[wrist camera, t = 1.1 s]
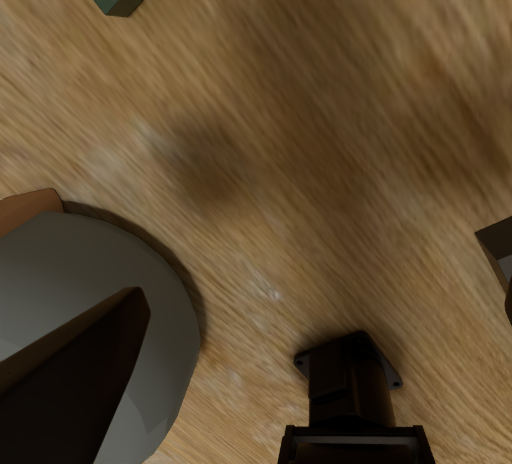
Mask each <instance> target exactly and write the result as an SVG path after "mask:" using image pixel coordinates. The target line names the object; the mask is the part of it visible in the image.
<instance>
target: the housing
mask: <svg viewBox="0 0 512 464" xmlns="http://www.w3.org/2000/svg"><path fill="white" fill-rule="evenodd" d="M94 1H95V3H96V4H97V5H98V7H99V8H100V9H101V10H102V12H103V13H104V14H105V15H109V16H118V17H128V16H129V15H130V14H131V13H132V11H133V10H134V9H135V8H136V7H137V6H138V5H139V4H140V3H141V2H142V0H94Z"/></svg>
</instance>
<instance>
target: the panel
mask: <svg viewBox="0 0 512 464" xmlns="http://www.w3.org/2000/svg"><path fill="white" fill-rule="evenodd" d="M475 236H476V237H477V239H478V241H479V243H480V245H481V247H482V249H483V251H484V253H485V255H486V257H487V259H488V260H489V262H490V264H491V266H492V268H493V270H494V272H495V274H496V276H497V278H498V280H499V281H500V283H501V285H502V287H503V289H504V291H505V293H506V294H507V290H508V285H509V281H510V278H511V276H512V217H510V218H508V219H506V220H503V221H501V222H499V223H497V224H494V225H492V226H490V227H488V228H485V229H483V230H481V231H478V232H476V233H475Z"/></svg>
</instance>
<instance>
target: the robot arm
mask: <svg viewBox="0 0 512 464" xmlns="http://www.w3.org/2000/svg"><path fill="white" fill-rule="evenodd" d="M505 311H506V314H507V316H508V318H509V321H510V323H511V325H512V276H511V278H510V281H509V285H508V290H507V294H506V298H505ZM150 318H151V310H150V307H149V304H148V301H147V299H146V296H145V293H144V291H143V289H142V288H141V287H139V286H134V287H125V288H123V289H121V290H120V291H118V292H116V293H115V294H113V295H111V296H110V297H108V298H106V299H105V300H103V301H101V302H100V303H98V304H96V305H95V306H93V307H91V308H90V309H88V310H86V311H85V312H83V313H81V314H80V315H78V316H76V317H74V318H73V319H71V320H69V321H68V322H66V323H64V324H63V325H61V326H59V327H58V328H56V329H54V330H53V331H51V332H49V333H48V334H46V335H44V336H43V337H41V338H39V339H38V340H36V341H34V342H33V343H31V344H29V345H28V346H26V347H24V348H23V349H21V350H19V351H18V352H16V353H14V354H13V355H11V356H9V357H7V358H6V359H4V360H2V361H1V362H0V464H94V462H95V459H96V457H97V455H98V452H99V450H100V448H101V445H102V443H103V441H104V438H105V436H106V434H107V431H108V429H109V427H110V425H111V422H112V420H113V418H114V415H115V413H116V411H117V408H118V406H119V404H120V401H121V399H122V397H123V394H124V392H125V390H126V387H127V385H128V383H129V380H130V378H131V376H132V373H133V371H134V368H135V365H136V362H137V360H138V356H139V353H140V350H141V347H142V344H143V341H144V337H145V334H146V331H147V328H148V325H149V322H150ZM360 337H364V338H360ZM299 360H300V361H299ZM294 365H295V366H296V367H297V368H298V369H299V370H300V371H301V372H302V373H303V375H304V376H305V377H306V378H307V379H308V398H309V427H303V426H294V425H286V429H285V435H284V436H283V437H282V442H281V447H280V453H279V458H278V463H277V464H436V463H435V460H434V457H433V454H432V452H431V449H430V446H429V443H428V440H427V437H426V435H425V432H424V429H423V426H422V425H413V427H397V426H396V421H395V416H394V412H393V407H392V402H391V397H390V393H389V391H390V390H394V389H397V388H400V387H402V386H403V382H402V379H401V377H400V376H399V374H398V373H397V372H396V370H395V369H394V368H393V366H392V365H391V364H390V362H389V361H388V360H387V358H386V357H385V356H384V354H383V353H382V352H381V350H380V349H379V348H378V346H377V345H376V344H375V342H374V341H373V340H372V338H371V337H370V336H369V334H368V333H367V332H365V331H358V332H355V333H353V334H350V335H347V336H345V337H342V338H339V339H337V340H334V341H332V342H329V343H326V344H324V345H321V346H318V347H316V348H313V349H311V350H308V351H305V352H303V353H300V354H297V355H295V356H294Z"/></svg>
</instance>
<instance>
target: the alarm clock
mask: <svg viewBox="0 0 512 464" xmlns="http://www.w3.org/2000/svg"><path fill="white" fill-rule="evenodd" d="M134 286H139V287H141V288H142V289H143V291H144V293H145V296H146V299H147V301H148V304H149V307H150V310H151V318H150V322H149V325H148V328H147V331H146V334H145V337H144V341H143V344H142V347H141V350H140V353H139V356H138V360H137V362H136V365H135V368H134V371H133V373H132V376H131V378H130V380H129V383H128V385H127V387H126V390H125V392H124V394H123V397H122V399H121V401H120V404H119V406H118V408H117V411H116V413H115V415H114V418H113V420H112V422H111V425H110V427H109V429H108V431H107V434H106V436H105V438H104V441H103V443H102V445H101V448H100V450H99V452H98V455H97V457H96V459H95V462H94V464H142V463H143V462H144V461H145V460H146V459H148V458H149V457H150V456H151V455H152V454H154V452H155V451H156V449H157V448H158V447H159V445H160V444H161V442H162V441H163V440H164V438H165V437H166V435H167V433H168V432H169V430H170V428H171V426H172V425H173V423H174V421H175V419H176V418H177V416H178V413H179V410H180V407H181V404H182V402H183V399H184V396H185V393H186V391H187V388H188V385H189V382H190V380H191V377H192V374H193V371H194V369H195V366H196V363H197V359H198V354H199V349H200V343H201V337H200V332H199V326H198V320H197V316H196V314H195V312H194V310H193V308H192V302H191V299H190V297H189V295H188V293H187V291H186V289H185V287H184V285H183V283H182V281H181V279H180V277H179V276H178V275H177V274H176V273H175V272H174V270H173V269H172V268H171V267H170V266H169V264H168V263H167V262H166V261H165V260H164V259H163V257H162V256H161V255H160V254H158V253H157V252H156V251H154V250H153V249H152V248H151V247H149V246H148V245H147V244H145V243H144V242H143V241H142V240H140V239H139V238H138V237H136V236H134V235H132V234H130V233H128V232H126V231H124V230H122V229H120V228H118V227H116V226H114V225H112V224H110V223H108V222H105V221H102V220H98V219H94V218H90V217H86V216H82V215H79V214H72V213H64V210H63V206H62V203H61V199H60V198H59V196H58V195H57V193H56V192H55V191H54V190H53V189H51V188H48V189H44V190H39V191H34V192H30V193H25V194H20V195H15V196H11V197H7V198H5V199H3V200H1V201H0V362H1V361H2V360H4V359H6V358H7V357H9V356H11V355H13V354H14V353H16V352H18V351H19V350H21V349H23V348H24V347H26V346H28V345H29V344H31V343H33V342H34V341H36V340H38V339H39V338H41V337H43V336H44V335H46V334H48V333H49V332H51V331H53V330H54V329H56V328H58V327H59V326H61V325H63V324H64V323H66V322H68V321H69V320H71V319H73V318H74V317H76V316H78V315H80V314H81V313H83V312H85V311H86V310H88V309H90V308H91V307H93V306H95V305H96V304H98V303H100V302H101V301H103V300H105V299H106V298H108V297H110V296H111V295H113V294H115V293H116V292H118V291H120V290H121V289H123V288H125V287H134Z"/></svg>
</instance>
